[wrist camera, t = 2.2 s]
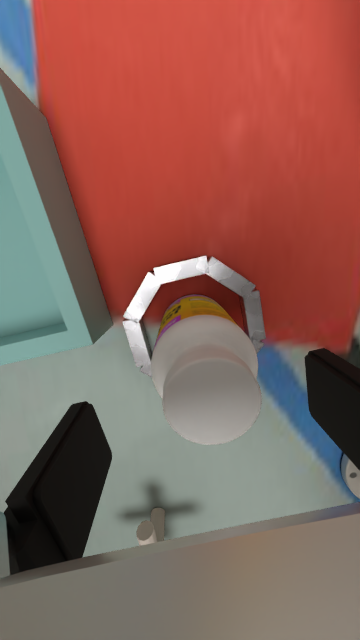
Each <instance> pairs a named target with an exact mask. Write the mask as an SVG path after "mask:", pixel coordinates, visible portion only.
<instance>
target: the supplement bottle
mask: <svg viewBox="0 0 360 640" xmlns="http://www.w3.org/2000/svg"><path fill="white" fill-rule="evenodd" d="M257 372H258V360H257V354H256V351H255V348H254V346H253V344H252V342H251V340H250V339H249V337H248V336H247V335H246V333H245V332H244V331H243V330H242V329H241V328H240V327H239V326H238V325H237V324H236V322H235V321H234V320H233V319H232V318H231V317H230V316H229V315H228V313H227V312H226V311H225V310H224V309H223V308H222V307H221V306H220V305H219V304H218V303H217V302H216V301H215V300H213V299H211V298H209V297H206V296H203V295H187V296H184V297H181V298H179V299H177V300H176V301H174V302H173V303H172V304H171V305H170V306H169V307H168V309H167V310H166V312H165V314H164V316H163V319H162V322H161V325H160V329H159V333H158V336H157V340H156V344H155V347H154V351H153V355H152V360H151V374H152V379H153V383H154V385H155V388H156V390H157V391H158V393H159V395H160V396H161V397H162V405H163V411H164V415H165V418H166V420H167V422H168V423H169V425H170V426H171V427H172V429H173V430H174V431H175V432H177V433H178V434H179V435H180V436H182V437H183V438H185V439H187V440H189V441H192V442H195V443H199V444H206V445H214V444H222V443H226V442H229V441H232V440H234V439H236V438H238V437H240V436H241V435H243V434H244V433H245V432H246V431H248V430H249V429H250V428H251V426H252V425H253V424H254V422H255V421H256V419H257V417H258V415H259V412H260V409H261V404H262V396H261V391H260V387H259V384H258V382H257V380H256V378H257Z"/></svg>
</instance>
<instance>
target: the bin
mask: <svg viewBox="0 0 360 640" xmlns="http://www.w3.org/2000/svg"><path fill="white" fill-rule="evenodd" d="M112 325H113V323H112V320H111V317H110V314H109V311H108V308H107V305H106V302H105V298H104V295H103V292H102V289H101V286H100V283H99V280H98V277H97V274H96V271H95V268H94V264H93V261H92V258H91V255H90V252H89V249H88V246H87V243H86V240H85V237H84V234H83V230H82V227H81V224H80V221H79V218H78V215H77V212H76V209H75V206H74V203H73V199H72V196H71V193H70V190H69V187H68V184H67V181H66V178H65V175H64V172H63V169H62V165H61V162H60V159H59V156H58V153H57V150H56V147H55V144H54V141H53V138H52V135H51V131H50V128H49V125H48V122H47V119H46V117H45V116H44V115H43V114H42V113H41V112H40V111H39V110H38V109H37V107H36V106H35V105H34V104H33V103H32V102H31V101H30V100H29V99H28V98H27V97H26V95H25V94H24V93H23V92H22V91H21V90H20V89H19V88H18V87H17V86H16V85H15V84H14V82H13V81H12V80H11V79H10V78H9V77H8V76H7V75H6V74H5V73H4V72H3V70H2V69H1V68H0V365H4V364H9V363H13V362H17V361H22V360H26V359H31V358H35V357H40V356H44V355H48V354H53V353H57V352H62V351H66V350H71V349H75V348H79V347H84V346H88V345H93V344H94V343H95V342H96V341H97V340H98V339H99V338H100V337H101V336H102V335H103V334H104V333H105V332H106V331H107V330H108V329H109V328H110V327H111V326H112Z"/></svg>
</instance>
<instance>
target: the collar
mask: <svg viewBox="0 0 360 640" xmlns="http://www.w3.org/2000/svg"><path fill="white" fill-rule="evenodd" d="M153 269H154V273H155V274H154V273H153V272H151V271H150V272H148V274H147V275H146V277H145V279H144V281H143V282H142V284H141V286H140V288H139V289H138V291H137V293H136V295H135V296H134V298H133V300H132V302H131V303H130V305H129V307H128V309H127V310H126V312H125V314H124V315H123V317H125V318H126V319H125V320H124V321H123V325H124V328H125V332H126V335H127V338H128V341H129V344H130V348H131V351H132V354H133V357H134V361H135V364H136V367H138V366H141V369H140V371H141V372H143V373H145V374H146V375H148V376H150V377H152V374H151V360H152V353H151V350H150V346H149V343H148V339H147V336H146V332H145V329H144V325H143V322H142V318H141V317H142V316H143V314H144V312H145V311H146V309H147V307H148V306H149V304H150V302H151V301H152V299H153V297H154V295H155V294H156V292H157V290H158V289H159V287H160V285H161V284H163V283H168V282H172V281H176V280H180V279H184V278H189V277H193V276H197V275H201V274H207V275H209V276H210V277H212V278H213V279H215V280H216V281H218V282H219V283H221V284H222V285H224V286H226V287H227V288H229V289H230V290H232V291H233V292H235V293H236V294H238V295H239V298H240V304H241V310H242V316H243V322H244V329H245V333H246V335H247V336H248V337H249V339H250V340H251V342H252V344H253V346H254V348H255V351H256V354H257V353H258V352H259V350H260V349H261V348H262V346H263V345H264V343H263V342H262V341H261V340H262V339H266V337H265V330H264V323H263V315H262V308H261V301H260V294H259V290H256V289H254V288H255V286H256V285H254V284H253V283H251V282H250V281H248V280H247V279H245V278H244V277H242V276H241V275H239V274H238V273H236V272H235V271H233V270H232V269H230V268H229V267H227V266H226V265H224V264H223V263H221V262H220V261H218V260H217V259H215V258H214V257H210V258H209V259H208V261H207V257H206V256H202V257H198V258H194V259H190V260H185V261H181V262H177V263H173V264H169V265H165V266H161V267H156V268H153Z"/></svg>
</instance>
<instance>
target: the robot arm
mask: <svg viewBox="0 0 360 640" xmlns="http://www.w3.org/2000/svg"><path fill="white" fill-rule="evenodd" d="M305 367H306V380H307V392H308V404H309V411H310V413H311V415H312V417H313V418H314V419H315V421H316V422H317V423H318V424H319V425H320V426H321V427H322V429H323V430H324V431H325V432H326V433H327V434H328V435H329V437H330V438H331V439H332V440H333V441H334V442H335V443H336V445H337V446H338V447H339V448H340V449H341V450H342V451H343V453H344V455H343V458H342V462H341V473H342V477H343V480H344V481H345V483H346V485H347V486H348V487H349V489H350V490H351V491H352V492H353V494H354V495H355V496H357V497H358V498H359V499H360V369H359V368H357V367H355V366H354V365H352V364H350V363H349V362H347V361H345V360H344V359H342V358H340V357H339V356H337V355H335V354H334V353H332V352H330V351H329V350H327V349H325V348H322V349H317V350H313V351H309V353H308V355H307V356H305ZM111 460H112V453H111V449H110V447H109V444H108V442H107V439H106V437H105V434H104V432H103V429H102V427H101V425H100V422H99V420H98V417H97V415H96V412H95V410H94V407H93V405H92V404H89V403H88V402H86V401H85V402H80V403H76V404H72V405H71V406H70V408H69V409H68V411H67V412H66V414H65V415H64V417H63V418H62V419H61V421H60V422H59V424H58V425H57V427H56V428H55V430H54V431H53V433H52V434H51V435H50V437H49V438H48V440H47V441H46V443H45V444H44V446H43V447H42V449H41V450H40V451H39V453H38V454H37V456H36V457H35V459H34V460H33V462H32V463H31V465H30V466H29V467H28V469H27V470H26V472H25V473H24V475H23V476H22V478H21V479H20V481H19V482H18V483H17V485H16V486H15V488H14V489H13V491H12V492H11V494H10V495H9V497H8V498H7V499H6V501H5V502H6V503H7V505H8V507H7V509H6V510H5V512H4V513H2V512H0V640H360V502H357V503H352V504H347V505H342V506H337V507H332V508H326V509H321V510H316V511H311V512H306V513H300V514H295V515H290V516H285V517H280V518H275V519H270V520H265V521H260V522H255V523H250V524H245V525H240V526H235V527H230V528H225V529H220V530H215V531H210V532H205V533H200V534H195V535H190V536H185V537H180V538H175V539H170V540H165V541H160V542H155V543H151V544H146V545H141V546H136V547H131V548H126V549H122V550H117V551H112V552H107V553H102V554H98V555H93V556H88V557H83V558H82V556H83V553H84V550H85V547H86V543H87V540H88V537H89V533H90V530H91V527H92V523H93V520H94V517H95V513H96V510H97V507H98V503H99V500H100V497H101V494H102V490H103V487H104V484H105V480H106V477H107V474H108V470H109V467H110V464H111Z"/></svg>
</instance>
